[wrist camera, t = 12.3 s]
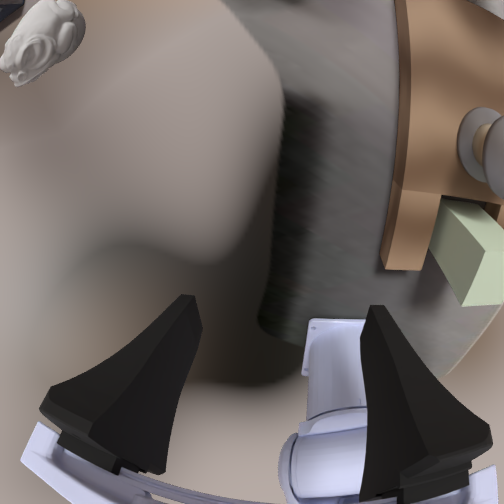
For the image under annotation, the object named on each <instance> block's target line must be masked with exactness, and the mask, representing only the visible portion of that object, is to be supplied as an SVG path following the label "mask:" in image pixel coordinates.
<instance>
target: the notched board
mask: <svg viewBox="0 0 504 504" xmlns="http://www.w3.org/2000/svg"><path fill="white" fill-rule="evenodd" d="M394 1H395V9H396V18H397V29H398V43H399V72H400V88H399V118H398V134H397V146H396V156H395V165H394V174H393V181H392V188H391V195H390V201H389V208H388V213H387V219H386V224H385V230H384V235H383V239H382V244H381V249H380V253H379V254H380V257H381V259H382V262H383V265H384V267H385V269H391V270H421V269H422V266H423V263H424V259H425V256H426V253H427V250H428V246H429V243H430V239H431V236H432V232H433V229H434V225H435V221H436V217H437V213H438V208H439V204H440V199H441V195H448V196H454V197H461V198H467V199H473V200H479V201H484V202H486V205H485V209H484V211H485V212H486V213H487V214H488V215H489V216H491V217H492V218H493V219H494V220H495V221H496V222H497V223H498V224H499V225H500V226H501V227H502V228H503V229H504V200H503V199H501V198H500V197H499V196H497V195H496V194H495V193H494V192H493V191H492V190H491V189H490V187H489V186H488V184H487V183H486V182H481V181H478V180H476V179H475V178H474V177H472V176H471V175H469V174H468V173H467V172H466V170H465V169H464V167H463V166H462V164H461V162H460V159H459V156H458V152H457V133H458V129H459V125H460V123H461V121H462V119H463V117H464V116H465V115H466V114H467V113H468V112H469V111H470V110H472V109H474V108H477V107H486V108H489V109H493V110H495V111H496V112H498V113H499V114H500V115H501V116H504V20H503V19H501V18H500V17H498V16H496V15H494V14H493V13H491V12H489V11H487V10H485V9H483V8H481V7H479V6H477V5H475V4H473V3H471V2H469V1H467V0H394Z"/></svg>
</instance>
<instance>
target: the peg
mask: <svg viewBox="0 0 504 504" xmlns="http://www.w3.org/2000/svg"><path fill="white" fill-rule="evenodd" d="M428 248H429V249H430V251H431V253H432V254H433V256H434V258H435V259H436V261H437V263H438V264H439V266H440V268H441V270H442V271H443V273H444V275H445V277H446V278H447V280H448V282H449V284H450V286H451V288H452V289H453V291H454V293H455V295H456V297H457V299H458V301H459V303H460V305H461V306H480V305H495V304H502V303H503V301H504V229H503V228H502V227H501V226H500V225H499V224H498V223H497V222H496V221H495V220H494V219H493V218H492V217H491V216H489V215H488V214H487V213H486V212H485V211H484V210H483V209H482V208H481V207H480V206H479V205H478V204H474V203H468V202H462V201H455V200H447V199H440V204H439V208H438V213H437V217H436V221H435V225H434V229H433V232H432V236H431V239H430V243H429V246H428Z"/></svg>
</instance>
